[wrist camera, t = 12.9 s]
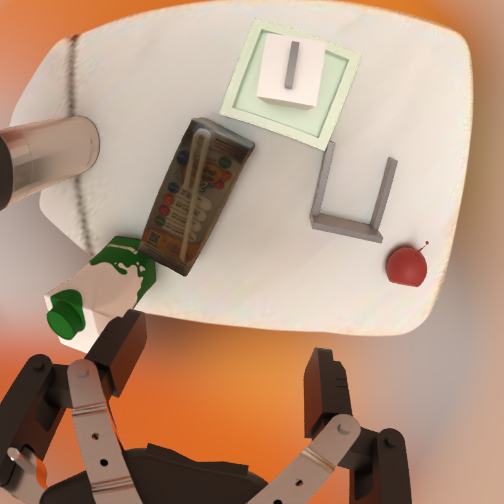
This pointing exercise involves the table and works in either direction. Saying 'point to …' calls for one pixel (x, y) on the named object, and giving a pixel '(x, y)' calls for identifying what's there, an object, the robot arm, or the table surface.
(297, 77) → the white tall block
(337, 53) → the tray
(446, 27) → the table surface
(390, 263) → the fruit
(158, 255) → the beverage carton
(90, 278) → the milk carton
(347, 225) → the bay
